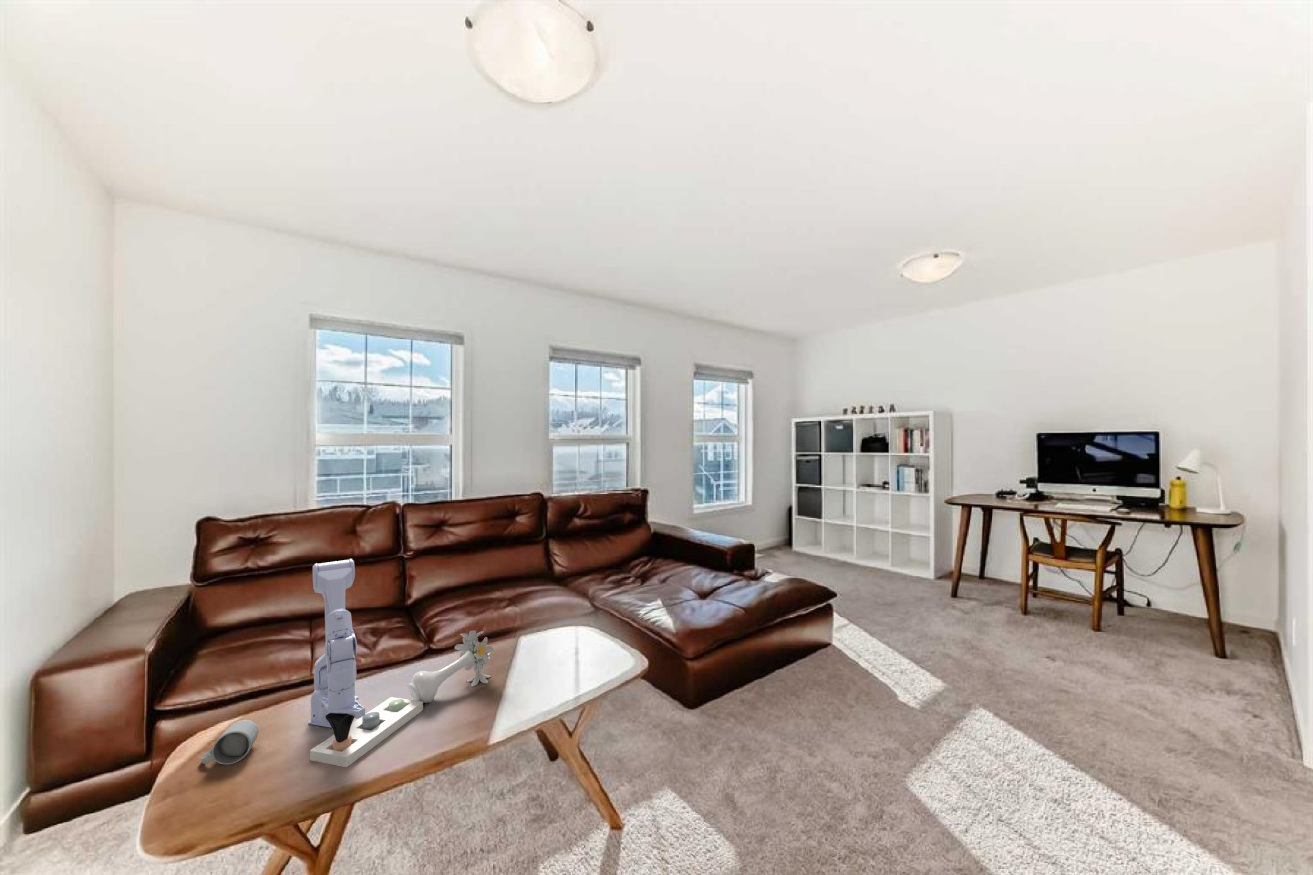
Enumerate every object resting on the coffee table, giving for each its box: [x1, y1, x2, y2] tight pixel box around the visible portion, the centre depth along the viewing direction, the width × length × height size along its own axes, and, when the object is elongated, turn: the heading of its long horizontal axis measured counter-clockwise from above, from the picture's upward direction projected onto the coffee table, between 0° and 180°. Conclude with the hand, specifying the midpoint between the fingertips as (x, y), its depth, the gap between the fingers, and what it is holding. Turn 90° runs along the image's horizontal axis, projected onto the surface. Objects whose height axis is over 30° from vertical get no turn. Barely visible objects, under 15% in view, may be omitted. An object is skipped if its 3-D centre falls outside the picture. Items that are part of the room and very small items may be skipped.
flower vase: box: [407, 630, 494, 704], centre depth 158 cm, size 13×18×25 cm
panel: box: [309, 696, 424, 768], centre depth 135 cm, size 11×26×2 cm, turn 165°
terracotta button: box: [333, 735, 352, 752], centre depth 126 cm, size 4×4×3 cm
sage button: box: [388, 698, 404, 712], centre depth 144 cm, size 4×4×3 cm
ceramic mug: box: [200, 719, 259, 765], centre depth 126 cm, size 11×8×8 cm
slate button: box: [362, 712, 380, 731], centre depth 135 cm, size 4×4×3 cm
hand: (342, 739), depth 126 cm, fingers closed, pressing on terracotta button
